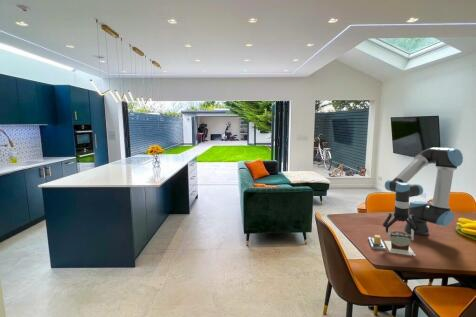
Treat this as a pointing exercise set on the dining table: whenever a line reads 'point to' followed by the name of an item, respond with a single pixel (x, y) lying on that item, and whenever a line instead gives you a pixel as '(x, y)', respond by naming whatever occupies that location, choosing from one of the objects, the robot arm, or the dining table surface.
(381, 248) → the panel
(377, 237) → the yellow block
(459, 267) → the dining table surface
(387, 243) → the mat
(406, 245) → the food container
